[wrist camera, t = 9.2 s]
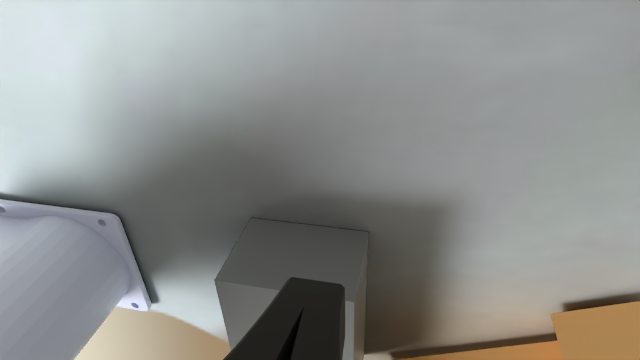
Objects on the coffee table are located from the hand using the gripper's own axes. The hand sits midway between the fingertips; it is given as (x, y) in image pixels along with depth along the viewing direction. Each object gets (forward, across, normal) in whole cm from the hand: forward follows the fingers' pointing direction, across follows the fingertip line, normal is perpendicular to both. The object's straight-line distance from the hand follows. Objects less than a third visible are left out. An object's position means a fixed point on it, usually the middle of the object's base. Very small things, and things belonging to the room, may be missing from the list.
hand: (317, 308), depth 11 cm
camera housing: (+9, +3, +10) cm, 14 cm away
